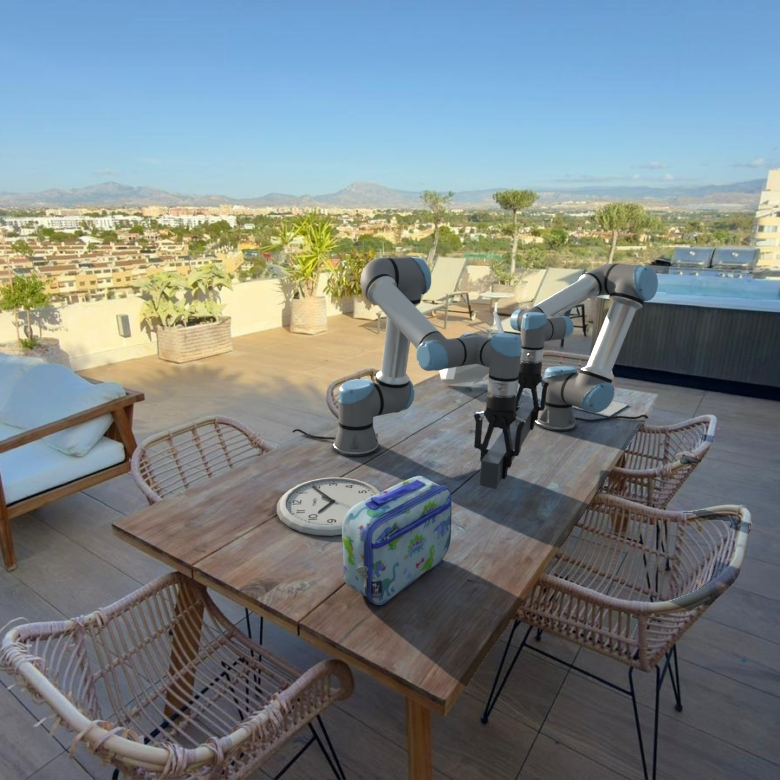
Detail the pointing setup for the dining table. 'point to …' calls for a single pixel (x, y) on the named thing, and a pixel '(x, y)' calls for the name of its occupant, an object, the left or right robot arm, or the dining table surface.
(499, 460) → the plank
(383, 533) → the lunch box
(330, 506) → the wall clock
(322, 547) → the dining table surface
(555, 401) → the right robot arm
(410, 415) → the dining table surface
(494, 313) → the white plastic object
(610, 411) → the invitation card
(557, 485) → the dining table surface
